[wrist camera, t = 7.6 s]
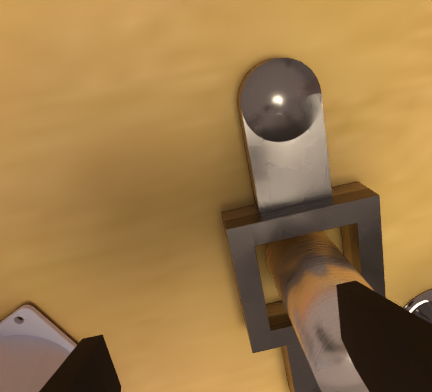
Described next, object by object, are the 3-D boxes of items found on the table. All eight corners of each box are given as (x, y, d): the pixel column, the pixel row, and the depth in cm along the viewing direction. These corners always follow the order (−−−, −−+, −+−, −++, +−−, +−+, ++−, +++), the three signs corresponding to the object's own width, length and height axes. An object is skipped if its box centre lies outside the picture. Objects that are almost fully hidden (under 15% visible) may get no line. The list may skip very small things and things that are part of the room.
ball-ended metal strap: (374, 386, 26) (392, 415, 24) (264, 411, 26) (272, 444, 24) (347, 42, 19) (369, 38, 17) (191, 76, 19) (193, 77, 16)
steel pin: (292, 294, 23) (355, 423, 15) (251, 253, 22) (295, 369, 14) (343, 254, 23) (439, 365, 14) (303, 210, 22) (383, 302, 13)
